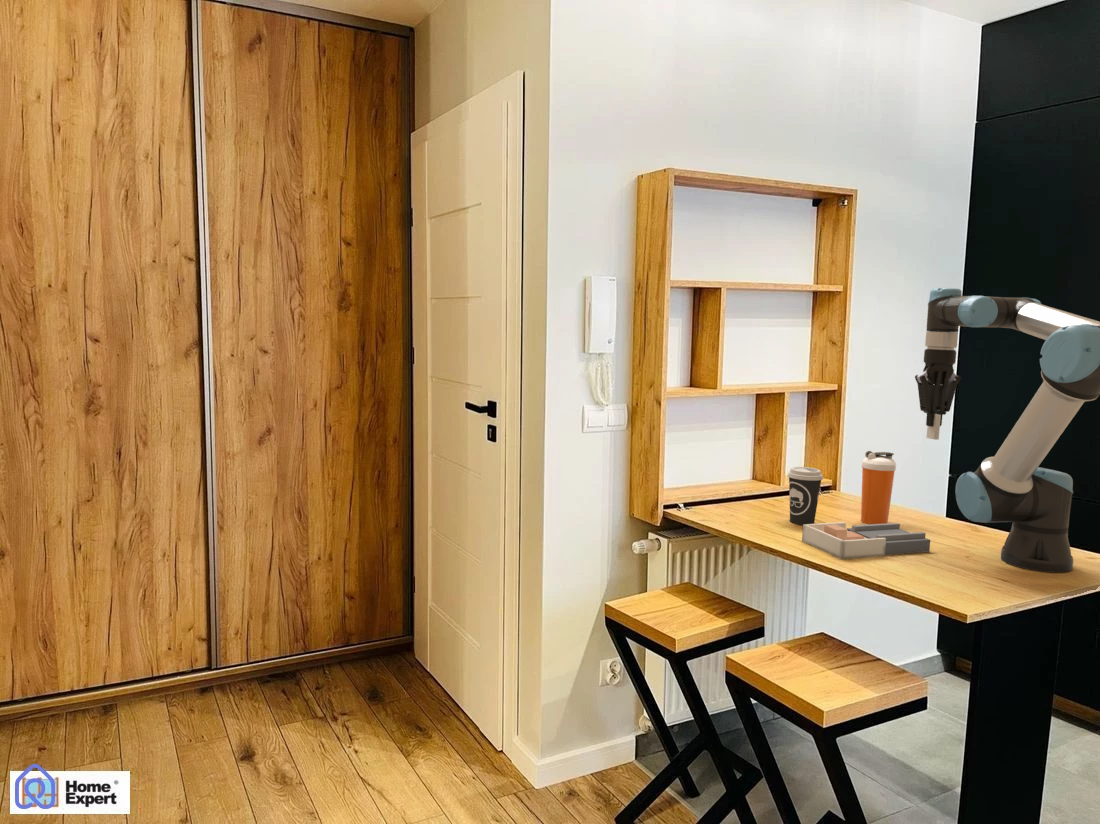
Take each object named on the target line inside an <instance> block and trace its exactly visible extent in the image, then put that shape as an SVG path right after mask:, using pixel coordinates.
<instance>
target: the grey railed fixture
mask: <svg viewBox="0 0 1100 824" xmlns="http://www.w3.org/2000/svg"><path fill="white" fill-rule="evenodd" d="M900 527H901V524H900V523H898V522H890V523H889V522H888V523H886V524H855V525H854V524H853V525H851V527H846V529H847V530H848V531H852V532H854V533H857V534H859V535H862V536H864V537H865V538H867V539H872V538H886V545H885V556H887V555H889V556H890V555H899V554H901V555H902V554H915V553H927V552H928V553H930V548H931V539H929V538H926V534H927V533H926V532H924V531H919V532H918V531H916V532H910V531H907V530H905V529H902V528H900Z"/></svg>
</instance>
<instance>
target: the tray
mask: <svg viewBox="0 0 1100 824" xmlns="http://www.w3.org/2000/svg"><path fill="white" fill-rule="evenodd" d="M833 524H835V525H837V526H840V527H842V528H845V529H847V522H845V521H839V522H823V523H821V522H820V523H814V524H803V525H802V536H801V542H803V543H804V544H807V545H809V546H812V547H813V548H815V549H818V550H821V551H822V552H825V553H827V554H828V555H831V556H833V557H836V558H838V559H840V560H851V559H865V558H878V557H879V558H880V557H885V556H886V555H885V545H886V538H872V539H867V538H865V537H864V539H857V540H842V539H839V538H837V537H834V536H832V535H830V534H827V533H825V532H824V525H833ZM847 531H848V530H847Z"/></svg>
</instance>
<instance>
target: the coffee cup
mask: <svg viewBox="0 0 1100 824" xmlns="http://www.w3.org/2000/svg"><path fill="white" fill-rule="evenodd" d="M787 477H788V484H789V485H788V486H789V487H788V489H789V522H790V523H792V524H793V525H797V526H803V524H815V519H816V513H817V507H818V502H819V496H820V491H821V485H822V480H824V476H823V474H822V472H821V470H820V469H818V468H815V467H809V466H807V467H806V466H792V467H791V468H790V470H789V471H788V473H787Z"/></svg>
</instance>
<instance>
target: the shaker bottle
mask: <svg viewBox="0 0 1100 824" xmlns="http://www.w3.org/2000/svg"><path fill="white" fill-rule="evenodd" d="M894 455H895V453H893V452H889V451H888V452H887V451H878V452H873V451H872V450H868V451H866V452H865V456H864V457H863V459H862V460H861V468H862V469H861V470H862V471H861V474H862V475H861V476H862V477H861V502H860V503H861V508H860V509H861V510H860V522H861V523H863V524H865V525H869V524H886V523H889V516H890V508H891V499H892V492H893V486H894V485H893V484H894V478H895V477H894V476H895V471H897V469H896V467H897V464H896V462H895V460H894V459H893V456H894Z"/></svg>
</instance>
